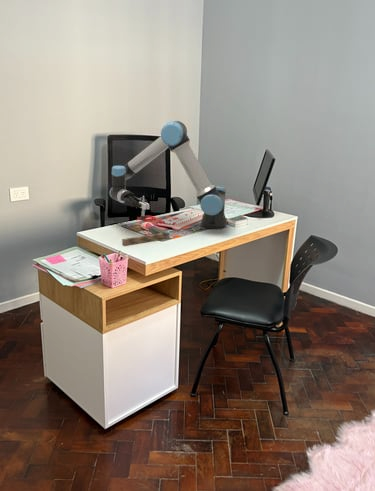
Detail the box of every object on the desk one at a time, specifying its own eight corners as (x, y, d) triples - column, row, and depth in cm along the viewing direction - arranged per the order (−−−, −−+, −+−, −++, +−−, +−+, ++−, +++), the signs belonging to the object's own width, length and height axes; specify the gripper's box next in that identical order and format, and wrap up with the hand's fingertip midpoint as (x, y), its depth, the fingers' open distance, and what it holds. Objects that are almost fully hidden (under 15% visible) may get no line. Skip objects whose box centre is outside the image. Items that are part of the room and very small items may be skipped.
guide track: (154, 230, 243) (154, 225, 242) (169, 238, 230) (169, 233, 229) (110, 237, 229) (110, 231, 228) (124, 245, 216) (124, 240, 215)
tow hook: (146, 216, 234) (135, 219, 226) (147, 193, 230) (136, 194, 223) (159, 219, 230) (148, 222, 222) (160, 195, 226) (149, 197, 218)
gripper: (138, 203, 243) (159, 212, 225) (114, 205, 236) (134, 215, 217) (138, 189, 241) (159, 198, 222) (114, 192, 233) (134, 200, 215)
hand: (147, 206), depth 220 cm, fingers closed on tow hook
